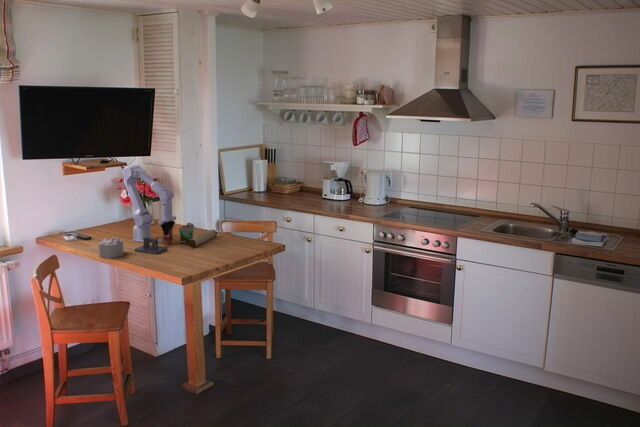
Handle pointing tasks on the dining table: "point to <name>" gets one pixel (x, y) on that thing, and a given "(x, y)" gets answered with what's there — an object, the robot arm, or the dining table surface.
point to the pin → (167, 237)
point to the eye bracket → (150, 246)
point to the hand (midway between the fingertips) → (167, 234)
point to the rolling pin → (201, 238)
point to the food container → (186, 233)
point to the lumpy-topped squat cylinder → (111, 248)
